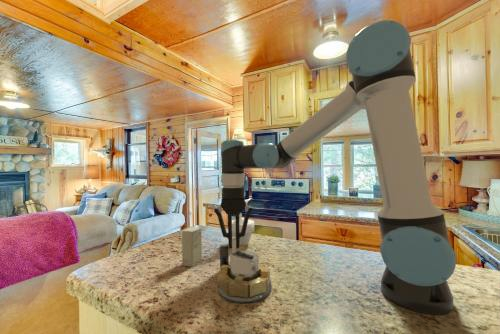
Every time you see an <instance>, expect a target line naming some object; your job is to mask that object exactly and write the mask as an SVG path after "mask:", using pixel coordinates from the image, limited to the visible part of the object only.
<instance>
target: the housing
mask: <svg viewBox="0 0 500 334" xmlns="http://www.w3.org/2000/svg"><path fill="white" fill-rule="evenodd" d="M259 256H260V255H259V254H258V253H257V252H255V251H252V250H240V251H239V250H236V252H235V253H233V254H232V253H231V255H230V256H229V265H230V278H231V279H232V280H234V279H235V277H236V276H244V281H251V280H254V279H257V278H259V264H260V261H259V260H260V257H259ZM272 289H273V286H272V282H271V281H270V283H269V287H268V290H266V292H263V293H261V294H258V295H255V296H252V297H249V296H248V298H247V297H239V296H230V295H229V294H226V293H225V292H224V291H223V290H222V289H221V288H220V287H219V283H218V284H217V293H218V295H219V297H220V298H221V299H223V300H225V301H227V302H229V303H232V304H238V305H247V304H249V305H250V304H255V303H258V302H259V303H260V302H262V301H263V300H265V299H266V298H268V297H269V296H270V295H271V293H272Z"/></svg>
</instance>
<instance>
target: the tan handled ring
mask: <svg viewBox="0 0 500 334" xmlns="http://www.w3.org/2000/svg"><path fill="white" fill-rule="evenodd" d="M229 253H230V252H229V244H228V245H227V244H222V245H220V246H219V267H220V268H219V269H220V271H219V273H218V284H219V287H220V288H221V289H222V290H223V291H224V292H225V293H226V294H229V295H230V296H239V297H247V298H248V296H249V297H252V296H255V295H258V294H261V293H263V292H266V290H268V287H269V283H270V282H271V271H270V268H267V267H266V266H264V265H262V264H260V263H259V278H257V279H254V280H251V281H244V276H236V277H235V279H234V280H232V279H231V278H230V256H229Z"/></svg>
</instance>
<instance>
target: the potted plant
mask: <svg viewBox="0 0 500 334" xmlns="http://www.w3.org/2000/svg"><path fill="white" fill-rule="evenodd" d="M245 197H246V191H245V189H244V198H245ZM250 200H252V197H251V198H248V199H246V198H245V202H246V205H248V203H249V201H250ZM242 216H243V214H242V212H241V213H240V214H239V233H240V232H241V230H242V226H243V222H244V217H242ZM254 232H255V220H253V219H248V223H247V228H246V232H245V236H244V237H240V239H239V243H240V246H242V247H243V246H247V245H249V244H250V240H251V237H252V233H254ZM232 237H236V218H235V219H232Z"/></svg>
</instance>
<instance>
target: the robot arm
mask: <svg viewBox="0 0 500 334" xmlns="http://www.w3.org/2000/svg"><path fill="white" fill-rule="evenodd" d="M411 44H412V39H411V36H410V33H409V30H408V29H407V28H406V27H405V25H403V23H401V22H399V21H395V20H391V19H384V20H379V21H376V22H373V23H371V24H369V25H367V26H365V27H364V28H362V29H361V30H360V31H359V32H357V33H356V34H355V36H354V37H353V38H352V39H351V41H350V43H349V44H348V46H347V51H346V55H345V56H346V65H347V68H348V69H349V71H350V72H351V76H352V79H351V80H350V81H348V82H347V83H346V85H345V89H344V90H342V91H341V92H340V93H338V94H337V95H336V96H335V97H334V98H333V99H331V100H330V101H328V102H327V103H326V104H325V105H324V106H322V107H321V108H320V109H319V110H317V111H316V112H315V113H314V114H312V116H310V117H309V118H307V119H306V120H304V122H302V123H301V124H300V125H299V126H298V127H296V128H295V129H293V131H291V132H290V133H289V134H287V135H286V136H285V137H284V138H283V139H282V140H280V141H279V142H278V143H276V144H274V143H272V142H269V143H263V142H262V143H256V144H246V145H244V141H243V140H240V139H226V140H223V141H222V142H221V145H220V146H221V149H220V151H221V152H220V160H221V187H222V188H221V201H220V205H219V206H217V207H214V210H213V211H214V213H215V214H216V216H217V219H218V220H217V221H218V223H219V226H220V231H221V235H222V238H225V239H226V238H227V239H228V249H231V254H233V253H235V252H237V249H239V248H240V243H239V239H240V237H244V236H245V232H246V228H247V223H248V220H250V219H249V218H250V215H251V213H252V212H253V207H252V206H250V205H248V204H247V205H246V202H245V200H246V198H245V197H244V190H245V187H244V185H245V169H263V170H264V169H284V168H287V167H289V166H290V165H291V163H292V161H293V160H294V159H295V158H296V157H297V156H299V155H300V154H302V153H303V152H304V151H306V150H307V149H308V148H311V146H313V145H314V144H315V143H317V142H319V141H320V140H321V139H323V138H324V137H325V136H327V135H328V134H329V133H331V132H332V131H334V130H335V129H336V128H338V127H339V126H340V125H342V124H343V123H346V121H347V120H349V119H350V118H352V117H353V116H354V115H356V114H357V113H358V112H360V111H361V110H365V112H366V117H367V123H368V128H369V135H370V138H371V145H372V149H373V155H374V161H375V166H376V172H377V177H378V183H379V188H380V195H381V200H382V204H383V206H382V208H380V210H379V211H378V212H377V219H378V227H379V231H380V237H381V238H380V239H381V242H380V246H379V247H380V248H379V249H380V250H379V251H380V255H381V258H382V261H383V263H384V265H385V268H384V271H383V273H382V276H381V280H380V290H381V293H382V294H383V295H384V296H385V297H386V298H387V299H388V300H389V301H392V302H394V304H396V305H398V306H401V307H403V308H405V309H409V310H411V311H414V312H418V313H422V314H429V315H446V314H450V313H451V312H452V311H453V310H454V305H455V304H454V295H453V294H452V291H451V288H450V286H449V283H448V280H449V279H450V278H451V277H452V276H453V274H454V272H455V270H456V265H457V264H456V263H457V256H456V251H455V250H454V249H453V247H452V245H451V241H450V237H449V233H448V228H447V224H446V218H445V214H444V211H443V210H442V209H440V207H438V206H436V205H435V204H434V203H432V197H431V192H430V187H429V183H428V177H427V173H426V167H425V163H424V158H423V153H422V149H421V144H420V139H419V133H418V129H417V125H416V119H415V114H414V109H413V104H412V99H411V93H410V91H411V89H412V88H413V86H414V84H415V83H416V82H417V79H416V72H415V68H414V64H413V63H414V62H413V58H412V54H411ZM222 211H224V213H225V214H226V215H227V229H228V230H226V225H225V223H224V222H225V221H224V218H223V214H222ZM243 211H244V212H245V214H244V217H243V218H244V222H243V226H242V230H241V232H240V233H239V214H240V213H241V214H242V212H243ZM232 216H235V219H236V237H232V220H233V217H232Z"/></svg>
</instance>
